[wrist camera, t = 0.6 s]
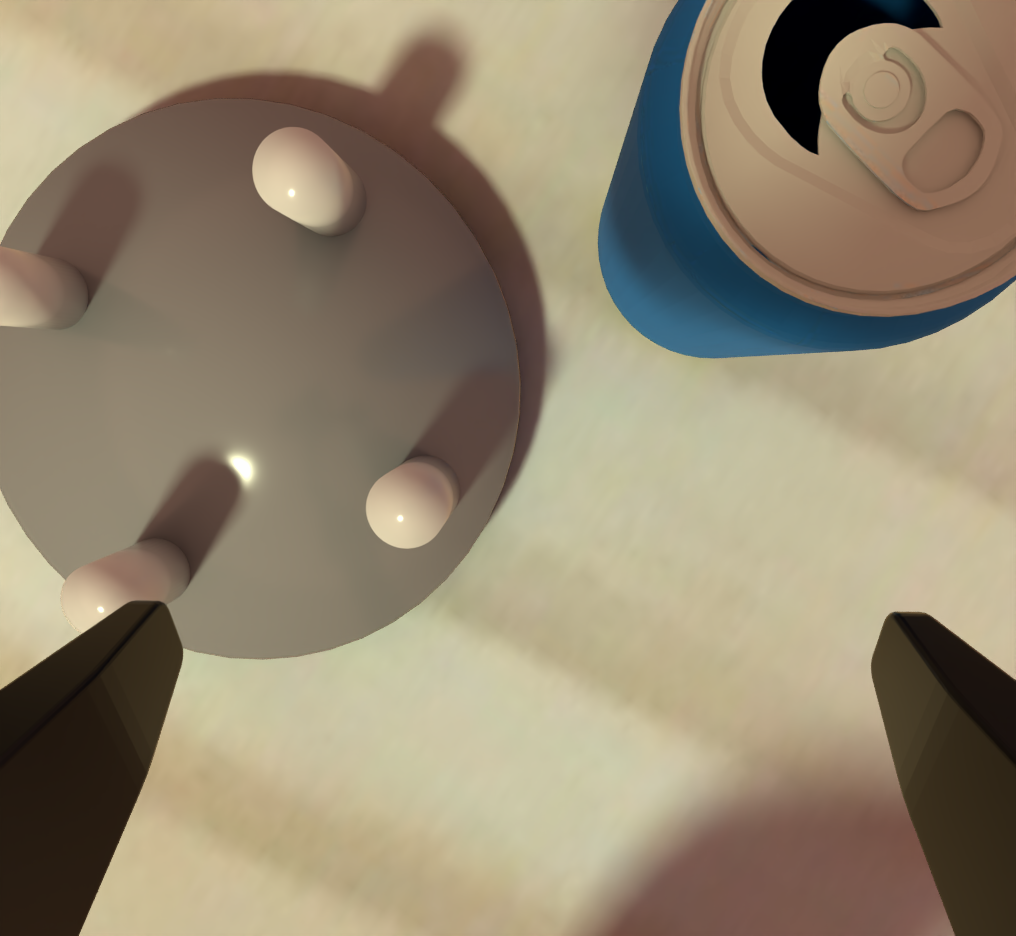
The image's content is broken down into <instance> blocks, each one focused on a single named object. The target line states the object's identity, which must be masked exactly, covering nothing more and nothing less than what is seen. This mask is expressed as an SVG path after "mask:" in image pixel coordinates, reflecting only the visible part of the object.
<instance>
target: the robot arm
mask: <svg viewBox="0 0 1016 936" xmlns="http://www.w3.org/2000/svg"><path fill="white" fill-rule="evenodd" d="M182 661H183V646H182V643H181V640H180V637H179V635H178V632H177V629H176V627H175V624H174V621H173V619H172V616H171V613H170V611H169V609H168V607H167V605H166V604H165V603H163V602H161V601H152V600H135V601H130V602H128V603H126V604H124V605H123V606H121V607H120V608H119V609H117V610H116V611H114V612H113V613H111V614H110V615H108V616H107V617H105V618H104V619H103V620H101V621H100V622H98V623H97V624H95V625H94V626H92V627H91V628H89V629H88V630H87V631H85V632H84V633H82V634H81V635H79V636H78V637H76V638H75V639H73V640H72V641H71V642H69V643H68V644H66V645H65V646H63V647H62V648H60V649H59V650H57V651H56V652H55V653H53V654H52V655H50V656H49V657H47V658H46V659H44V660H43V661H41V662H40V663H38V664H37V665H36V666H34V667H33V668H31V669H30V670H28V671H27V672H25V673H24V674H22V675H21V676H20V677H18V678H17V679H15V680H14V681H12V682H11V683H9V684H8V685H6V686H5V687H4V688H2V689H1V690H0V936H79V934H80V932H81V929H82V927H83V925H84V922H85V920H86V918H87V915H88V913H89V911H90V908H91V906H92V904H93V901H94V899H95V897H96V894H97V892H98V890H99V887H100V885H101V883H102V880H103V878H104V876H105V873H106V871H107V869H108V866H109V864H110V862H111V859H112V857H113V855H114V852H115V850H116V848H117V845H118V843H119V841H120V838H121V836H122V834H123V831H124V829H125V827H126V824H127V822H128V820H129V817H130V815H131V813H132V810H133V808H134V806H135V803H136V801H137V799H138V796H139V794H140V792H141V789H142V787H143V784H144V782H145V779H146V777H147V774H148V771H149V768H150V765H151V762H152V759H153V756H154V753H155V750H156V747H157V744H158V740H159V737H160V734H161V731H162V727H163V724H164V721H165V718H166V714H167V711H168V708H169V705H170V701H171V698H172V695H173V692H174V688H175V685H176V682H177V679H178V675H179V672H180V669H181V665H182ZM871 673H872V679H873V683H874V687H875V691H876V695H877V699H878V702H879V706H880V710H881V714H882V718H883V722H884V726H885V730H886V734H887V738H888V742H889V746H890V749H891V753H892V757H893V761H894V765H895V769H896V773H897V777H898V780H899V784H900V787H901V791H902V794H903V798H904V800H905V803H906V806H907V809H908V812H909V815H910V817H911V820H912V823H913V825H914V828H915V831H916V833H917V836H918V839H919V841H920V844H921V847H922V849H923V852H924V854H925V857H926V860H927V862H928V865H929V868H930V870H931V873H932V876H933V878H934V881H935V884H936V886H937V889H938V891H939V894H940V897H941V899H942V902H943V905H944V907H945V910H946V913H947V915H948V918H949V920H950V923H951V926H952V928H953V931H954V934H955V936H1016V680H1015V679H1013V678H1012V677H1011V676H1010V675H1008V674H1007V673H1006V672H1004V671H1003V670H1002V669H1000V668H999V667H998V666H996V665H995V664H994V663H992V662H991V661H990V660H988V659H987V658H986V657H985V656H983V655H982V654H981V653H979V652H978V651H977V650H975V649H974V648H973V647H971V646H970V645H969V644H967V643H966V642H965V641H963V640H962V639H961V638H959V637H958V636H957V635H956V634H954V633H953V632H952V631H950V630H949V629H948V628H946V627H945V626H944V625H942V624H941V623H940V622H938V621H937V620H936V619H934V618H933V617H932V616H930V615H928V614H926V613H922V612H892V613H890V614H889V615H888V616H887V617H886V619H885V621H884V624H883V627H882V630H881V633H880V636H879V639H878V642H877V645H876V648H875V651H874V653H873V657H872V662H871Z"/></svg>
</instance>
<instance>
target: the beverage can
mask: <svg viewBox="0 0 1016 936" xmlns="http://www.w3.org/2000/svg"><path fill="white" fill-rule="evenodd" d="M598 252H599V261H600V266H601V271H602V275H603V278H604V281H605V284H606V287H607V289H608V291H609V293H610V295H611V297H612V299H613V301H614V303H615V305H616V306H617V308H618V309H619V311H620V312H621V313H622V315H623V316H624V317H625V318H626V319H627V321H628V322H629V323H630V324H631V325H632V326H633V327H634V328H635V329H636V330H638V331H639V332H640V333H641V334H642V335H643V336H645V337H646V338H648V339H650V340H651V341H653V342H654V343H656V344H658V345H660V346H662V347H664V348H666V349H668V350H670V351H674V352H677V353H680V354H683V355H688V356H693V357H699V358H728V357H746V356H765V355H784V354H802V353H821V352H839V351H855V350H867V349H878V348H884V347H889V346H893V345H898V344H902V343H907V342H910V341H913V340H916V339H919V338H922V337H925V336H927V335H930V334H933V333H936V332H938V331H940V330H942V329H944V328H946V327H948V326H950V325H952V324H954V323H956V322H958V321H960V320H962V319H964V318H966V317H967V316H969V315H970V314H972V313H973V312H975V311H976V310H978V309H979V308H981V307H982V306H984V305H985V304H987V303H988V302H990V301H991V300H993V299H994V298H995V297H996V296H997V295H999V294H1000V293H1001V292H1002V291H1003V290H1005V289H1006V288H1007V287H1008V286H1009V285H1010V284H1012V283H1013V282H1014V281H1015V280H1016V0H678V2H677V4H676V5H675V7H674V8H673V10H672V12H671V13H670V15H669V16H668V18H667V20H666V22H665V24H664V26H663V29H662V31H661V33H660V35H659V37H658V39H657V42H656V44H655V46H654V49H653V52H652V55H651V58H650V61H649V64H648V67H647V70H646V73H645V77H644V80H643V83H642V86H641V89H640V92H639V96H638V99H637V102H636V105H635V108H634V111H633V114H632V118H631V121H630V124H629V127H628V130H627V133H626V137H625V140H624V143H623V146H622V149H621V152H620V156H619V159H618V162H617V165H616V168H615V171H614V174H613V178H612V181H611V184H610V187H609V190H608V193H607V197H606V200H605V203H604V206H603V209H602V213H601V218H600V223H599V232H598Z"/></svg>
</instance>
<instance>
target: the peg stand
mask: <svg viewBox="0 0 1016 936" xmlns="http://www.w3.org/2000/svg"><path fill="white" fill-rule="evenodd" d="M520 390H521V378H520V368H519V359H518V349H517V343H516V338H515V334H514V330H513V326H512V321H511V317H510V313H509V309H508V306H507V304H506V301H505V299H504V296H503V293H502V291H501V288H500V285H499V283H498V280H497V277H496V275H495V273H494V271H493V269H492V268H491V266H490V264H489V262H488V260H487V258H486V256H485V254H484V253H483V251H482V249H481V247H480V245H479V243H478V242H477V240H476V238H475V237H474V235H473V234H472V232H471V231H470V229H469V228H468V227H467V225H466V224H465V222H464V221H463V220H462V218H461V217H460V215H459V214H458V213H457V211H456V210H455V208H454V207H453V206H452V204H451V203H450V202H449V201H448V200H447V199H446V198H445V197H444V196H443V195H442V194H441V193H440V191H439V190H438V189H437V188H436V187H435V186H434V185H433V184H432V183H431V182H430V181H429V180H428V179H427V178H426V176H424V175H423V174H422V173H421V172H420V171H418V170H417V169H416V168H415V167H414V166H412V165H411V164H410V163H409V162H407V161H406V160H405V159H404V158H403V157H401V156H400V155H399V154H398V153H397V152H395V151H394V150H392V149H391V148H389V147H387V146H386V145H384V144H383V143H381V142H379V141H378V140H376V139H374V138H373V137H371V136H370V135H368V134H366V133H365V132H363V131H361V130H359V129H357V128H355V127H352V126H350V125H348V124H346V123H344V122H341V121H339V120H337V119H335V118H332V117H330V116H328V115H325V114H322V113H318V112H315V111H311V110H308V109H305V108H301V107H298V106H294V105H291V104H285V103H278V102H271V101H264V100H257V99H209V100H202V101H194V102H187V103H180V104H176V105H172V106H169V107H165V108H162V109H158V110H155V111H151V112H148V113H144V114H142V115H139V116H137V117H135V118H133V119H130V120H128V121H126V122H124V123H122V124H119V125H117V126H115V127H113V128H110V129H109V130H107V131H106V132H104V133H102V134H101V135H99V136H98V137H96V138H94V139H93V140H91V141H90V142H88V143H87V144H85V145H83V146H82V147H80V148H79V149H78V150H76V151H75V152H74V153H73V154H72V155H71V156H69V157H68V158H67V159H66V160H65V161H64V162H62V163H61V164H60V165H59V166H58V167H57V168H55V169H54V170H53V171H52V172H51V173H50V174H49V175H48V176H47V178H46V179H45V180H44V181H43V182H42V183H41V184H40V186H39V187H38V188H37V189H36V190H35V191H34V192H33V193H32V195H31V196H30V197H29V198H28V199H27V201H26V202H25V204H24V205H23V207H22V208H21V210H20V211H19V213H18V214H17V216H16V217H15V219H14V220H13V222H12V223H11V225H10V226H9V228H8V230H7V232H6V234H5V236H4V238H3V240H2V242H1V244H0V489H1V491H2V493H3V496H4V498H5V500H6V502H7V504H8V506H9V508H10V509H11V511H12V513H13V514H14V516H15V517H16V519H17V521H18V522H19V524H20V526H21V527H22V529H23V530H24V532H25V534H26V535H27V537H28V538H29V539H30V540H31V542H32V543H33V544H34V545H35V547H36V548H37V549H38V550H39V552H40V553H41V554H42V555H43V557H44V558H45V559H46V560H47V562H48V563H49V564H50V565H51V566H52V567H53V568H54V569H55V570H56V571H57V572H58V573H59V574H60V575H61V576H62V577H63V578H64V579H65V582H64V584H63V587H62V591H61V605H62V609H63V612H64V615H65V617H66V618H67V620H68V622H69V623H70V624H71V625H72V626H73V627H74V628H75V629H76V630H77V631H79V632H80V633H84V632H85V631H87V630H88V629H89V628H91V627H92V626H94V625H95V624H97V623H98V622H100V621H101V620H103V619H104V618H105V617H107V616H108V615H110V614H111V613H113V612H114V611H116V610H117V609H119V608H120V607H121V606H123V605H124V604H126V603H128V602H130V601H135V600H152V601H161V602H163V603H165V604H166V605H167V607H168V609H169V611H170V613H171V616H172V619H173V621H174V624H175V627H176V629H177V632H178V635H179V637H180V640H181V643H182V646H183V648H185V649H188V650H191V651H194V652H199V653H205V654H210V655H216V656H222V657H227V658H243V659H275V658H288V657H298V656H303V655H308V654H312V653H317V652H322V651H326V650H331V649H334V648H336V647H339V646H342V645H345V644H348V643H350V642H353V641H356V640H359V639H362V638H364V637H366V636H368V635H370V634H372V633H373V632H375V631H377V630H379V629H381V628H383V627H385V626H387V625H389V624H391V623H393V622H394V621H396V620H397V619H399V618H400V617H401V616H403V615H404V614H406V613H407V612H409V611H410V610H411V609H413V608H414V607H416V606H417V605H419V604H420V603H421V602H422V601H423V600H425V599H426V598H427V597H428V596H429V595H430V594H431V593H432V592H433V591H434V590H435V589H436V588H438V587H439V586H440V585H441V584H442V583H443V582H444V581H445V580H446V579H447V578H448V577H449V576H450V574H451V573H452V572H453V571H454V569H455V568H456V567H457V566H458V565H459V563H460V562H461V561H462V560H463V559H464V557H465V556H466V555H467V554H468V553H469V551H470V549H471V548H472V546H473V544H474V543H475V541H476V540H477V538H478V536H479V535H480V533H481V532H482V530H483V528H484V527H485V525H486V524H487V522H488V520H489V517H490V515H491V513H492V511H493V508H494V506H495V504H496V502H497V499H498V497H499V495H500V493H501V491H502V488H503V486H504V483H505V480H506V477H507V473H508V470H509V467H510V463H511V460H512V457H513V453H514V449H515V443H516V437H517V430H518V424H519V418H520Z"/></svg>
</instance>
